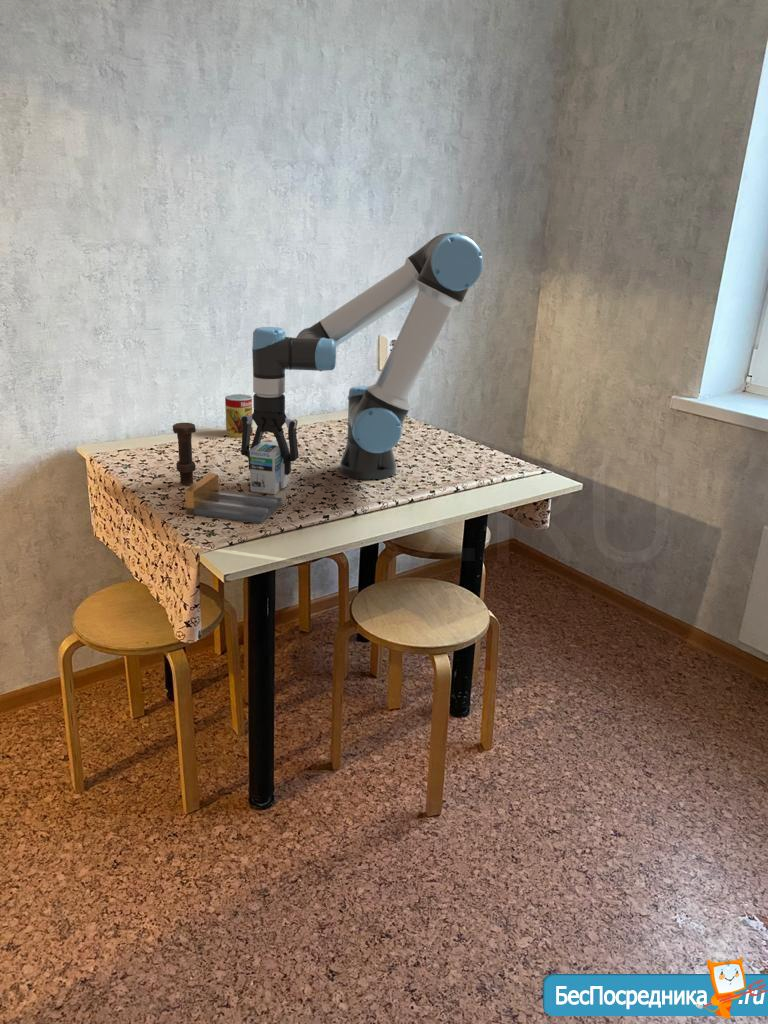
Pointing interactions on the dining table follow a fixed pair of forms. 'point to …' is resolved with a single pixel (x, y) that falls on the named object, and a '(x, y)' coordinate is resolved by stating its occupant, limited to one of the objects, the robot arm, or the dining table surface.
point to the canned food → (237, 413)
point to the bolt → (185, 451)
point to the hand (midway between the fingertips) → (269, 484)
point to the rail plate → (228, 502)
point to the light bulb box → (266, 467)
